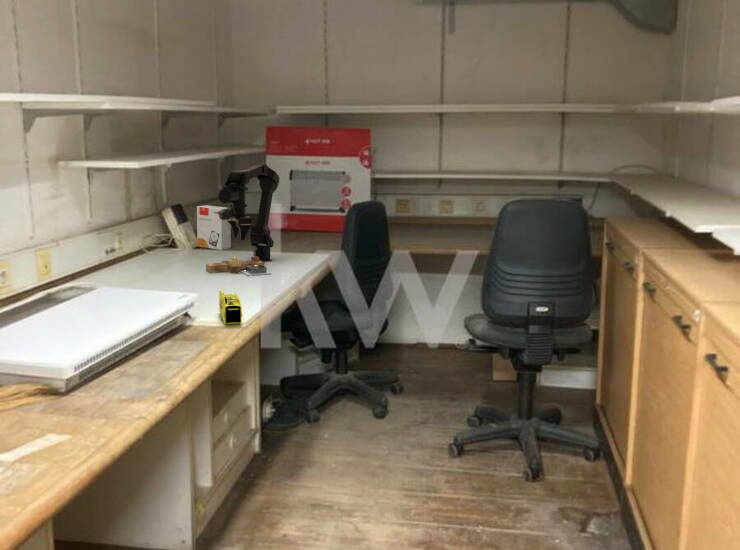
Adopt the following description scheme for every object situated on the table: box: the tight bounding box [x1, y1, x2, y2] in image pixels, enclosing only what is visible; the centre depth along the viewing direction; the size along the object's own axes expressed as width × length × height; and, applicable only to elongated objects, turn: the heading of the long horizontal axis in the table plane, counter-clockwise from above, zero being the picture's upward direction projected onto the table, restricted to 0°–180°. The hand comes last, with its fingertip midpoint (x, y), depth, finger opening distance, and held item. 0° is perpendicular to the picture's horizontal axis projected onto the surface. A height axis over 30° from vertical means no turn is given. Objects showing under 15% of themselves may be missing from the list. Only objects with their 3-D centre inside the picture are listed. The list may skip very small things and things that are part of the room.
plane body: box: [205, 256, 265, 274], centre depth 287 cm, size 23×12×5 cm, turn 119°
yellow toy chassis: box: [218, 288, 243, 326], centre depth 213 cm, size 16×6×8 cm, turn 17°
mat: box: [240, 270, 272, 277], centre depth 282 cm, size 10×8×1 cm
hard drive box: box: [196, 204, 232, 251], centre depth 339 cm, size 16×8×20 cm, turn 62°
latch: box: [227, 256, 242, 267], centre depth 282 cm, size 4×5×3 cm
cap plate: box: [246, 265, 268, 274], centre depth 282 cm, size 7×6×3 cm
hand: (238, 238), depth 292 cm, fingers open, 9 cm apart
